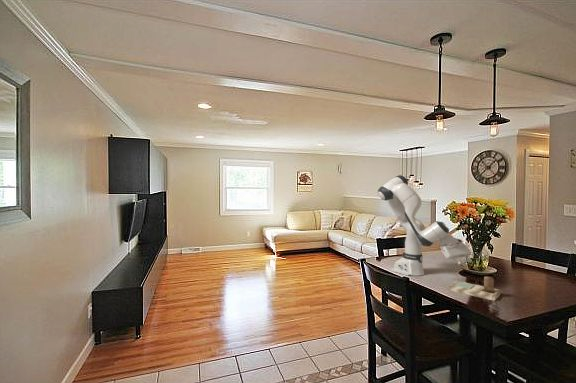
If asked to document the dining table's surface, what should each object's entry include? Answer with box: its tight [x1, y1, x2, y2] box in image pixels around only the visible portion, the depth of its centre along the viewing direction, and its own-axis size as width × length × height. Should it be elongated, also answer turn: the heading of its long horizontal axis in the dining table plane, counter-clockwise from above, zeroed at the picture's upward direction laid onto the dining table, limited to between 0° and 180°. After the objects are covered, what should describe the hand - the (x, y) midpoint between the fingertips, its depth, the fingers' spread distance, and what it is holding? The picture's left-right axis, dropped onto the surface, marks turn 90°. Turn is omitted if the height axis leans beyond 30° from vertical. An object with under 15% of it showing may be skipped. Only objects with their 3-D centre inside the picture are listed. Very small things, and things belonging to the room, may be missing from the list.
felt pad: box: [455, 281, 474, 289], centre depth 165 cm, size 8×8×1 cm
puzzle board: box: [448, 280, 502, 302], centre depth 161 cm, size 22×14×2 cm, turn 42°
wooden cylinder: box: [483, 276, 495, 294], centre depth 156 cm, size 4×4×10 cm
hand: (465, 262), depth 167 cm, fingers open, 8 cm apart
